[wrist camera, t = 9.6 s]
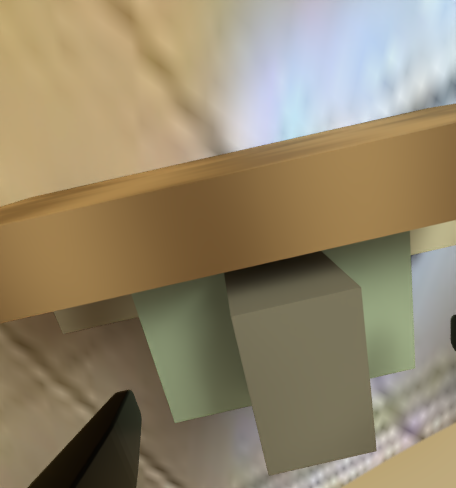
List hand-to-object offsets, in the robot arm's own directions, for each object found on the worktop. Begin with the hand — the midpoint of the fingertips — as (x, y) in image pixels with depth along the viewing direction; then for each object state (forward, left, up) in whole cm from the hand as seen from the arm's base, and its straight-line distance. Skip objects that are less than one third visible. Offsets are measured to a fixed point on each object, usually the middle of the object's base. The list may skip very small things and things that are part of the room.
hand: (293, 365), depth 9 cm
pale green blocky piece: (0, 0, -9) cm, 9 cm away
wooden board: (0, -2, -9) cm, 9 cm away
